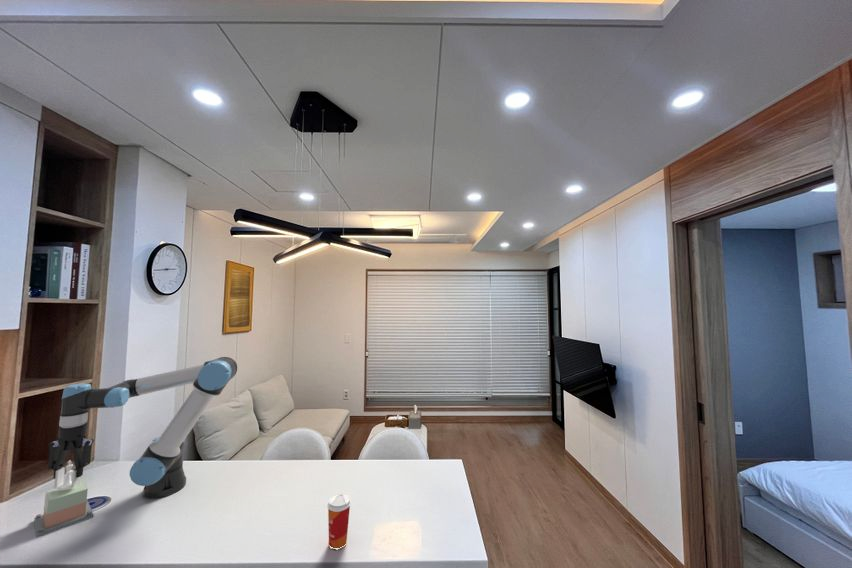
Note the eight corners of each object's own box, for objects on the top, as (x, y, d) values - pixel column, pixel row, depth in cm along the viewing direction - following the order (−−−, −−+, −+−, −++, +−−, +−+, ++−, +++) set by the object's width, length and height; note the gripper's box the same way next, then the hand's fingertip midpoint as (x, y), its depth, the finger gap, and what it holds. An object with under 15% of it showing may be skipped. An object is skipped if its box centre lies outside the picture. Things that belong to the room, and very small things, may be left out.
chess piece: (63, 491, 121) (66, 464, 121) (53, 489, 122) (56, 462, 122) (79, 484, 125) (82, 458, 126) (70, 482, 126) (73, 456, 127)
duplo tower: (87, 503, 132) (89, 476, 133) (93, 517, 124) (95, 488, 125) (34, 521, 121) (37, 491, 122) (36, 537, 113) (40, 505, 114)
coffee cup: (328, 536, 116) (330, 493, 118) (351, 535, 117) (352, 492, 118) (323, 553, 108) (324, 507, 109) (347, 552, 109) (349, 507, 110)
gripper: (107, 420, 130) (101, 479, 129) (56, 422, 127) (49, 482, 126) (91, 427, 123) (85, 490, 121) (36, 429, 120) (29, 493, 118)
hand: (67, 486), depth 124 cm, fingers closed on chess piece, 5 cm apart
